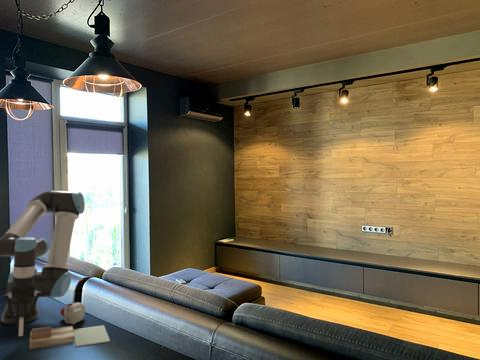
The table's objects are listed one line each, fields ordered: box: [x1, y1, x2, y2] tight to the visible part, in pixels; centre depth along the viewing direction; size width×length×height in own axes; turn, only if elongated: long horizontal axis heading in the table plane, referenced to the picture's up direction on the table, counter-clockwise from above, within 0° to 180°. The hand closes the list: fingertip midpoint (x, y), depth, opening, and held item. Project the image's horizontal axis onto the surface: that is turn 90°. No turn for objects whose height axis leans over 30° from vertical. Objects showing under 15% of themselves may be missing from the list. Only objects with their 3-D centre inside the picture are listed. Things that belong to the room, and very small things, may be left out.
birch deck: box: [29, 325, 75, 350], centre depth 150 cm, size 12×16×2 cm
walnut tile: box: [31, 325, 52, 340], centre depth 148 cm, size 7×7×2 cm
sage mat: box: [73, 325, 111, 348], centre depth 156 cm, size 18×13×1 cm
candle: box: [60, 301, 86, 325], centre depth 171 cm, size 9×11×15 cm
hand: (20, 334), depth 145 cm, fingers closed
